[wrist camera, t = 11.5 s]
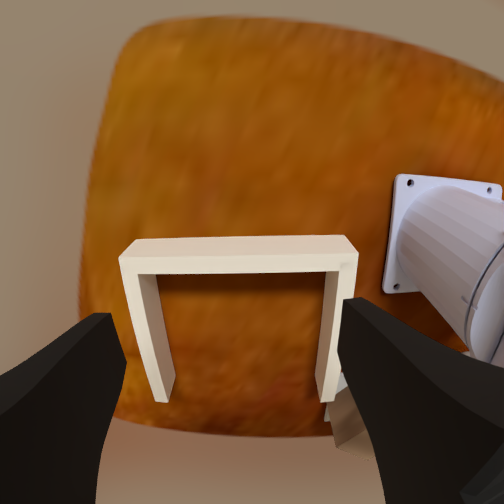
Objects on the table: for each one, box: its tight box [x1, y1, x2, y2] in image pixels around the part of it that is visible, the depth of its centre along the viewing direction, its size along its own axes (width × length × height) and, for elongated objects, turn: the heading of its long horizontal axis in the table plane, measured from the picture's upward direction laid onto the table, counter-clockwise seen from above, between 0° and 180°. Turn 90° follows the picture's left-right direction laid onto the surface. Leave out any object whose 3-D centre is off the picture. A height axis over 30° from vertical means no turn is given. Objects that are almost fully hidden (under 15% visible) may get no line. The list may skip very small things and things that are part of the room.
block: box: [326, 386, 375, 460], centre depth 22 cm, size 4×4×5 cm
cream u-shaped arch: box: [118, 235, 359, 402], centre depth 20 cm, size 13×12×3 cm
